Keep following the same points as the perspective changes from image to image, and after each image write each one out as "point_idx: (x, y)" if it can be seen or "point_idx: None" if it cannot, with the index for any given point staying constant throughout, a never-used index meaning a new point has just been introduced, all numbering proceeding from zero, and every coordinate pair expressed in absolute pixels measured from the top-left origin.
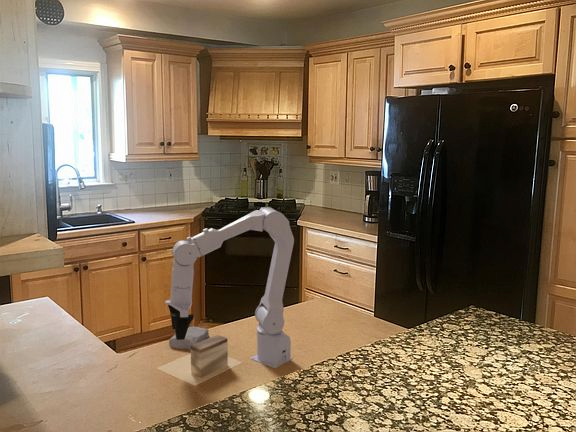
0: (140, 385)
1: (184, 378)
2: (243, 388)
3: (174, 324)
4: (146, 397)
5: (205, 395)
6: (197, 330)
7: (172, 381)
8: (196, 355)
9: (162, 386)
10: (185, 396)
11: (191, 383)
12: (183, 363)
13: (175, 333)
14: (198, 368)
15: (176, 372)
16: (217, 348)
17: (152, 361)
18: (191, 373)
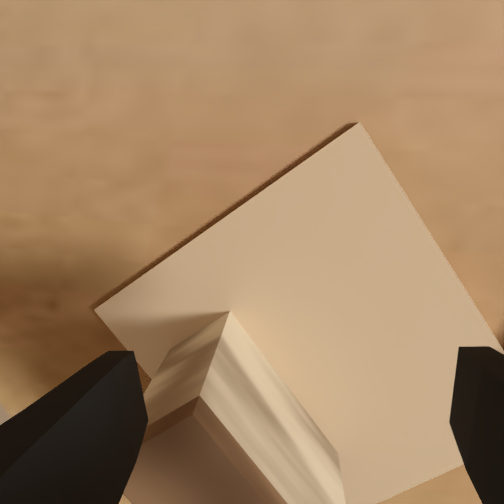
0: (171, 20)
1: (182, 272)
2: None
3: (489, 408)
4: (27, 58)
5: (17, 339)
6: None
7: (181, 208)
8: (157, 406)
9: (135, 151)
10: (17, 255)
11: (120, 298)
12: (371, 287)
13: (94, 382)
14: (171, 365)
15: (265, 238)
16: None
17: (496, 101)
18: (226, 313)
